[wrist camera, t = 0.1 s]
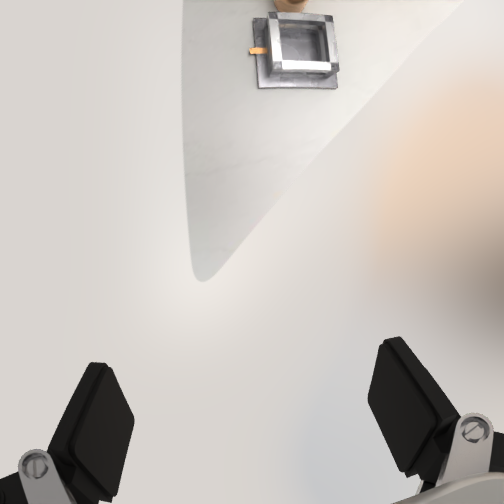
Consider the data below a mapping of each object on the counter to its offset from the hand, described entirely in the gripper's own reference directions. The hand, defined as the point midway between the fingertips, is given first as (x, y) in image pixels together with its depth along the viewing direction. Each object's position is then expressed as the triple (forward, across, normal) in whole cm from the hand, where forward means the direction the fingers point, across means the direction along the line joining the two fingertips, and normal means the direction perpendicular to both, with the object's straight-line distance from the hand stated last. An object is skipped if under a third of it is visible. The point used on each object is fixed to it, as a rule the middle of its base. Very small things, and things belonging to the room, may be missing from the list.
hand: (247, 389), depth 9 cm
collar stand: (+31, -9, -20) cm, 38 cm away
